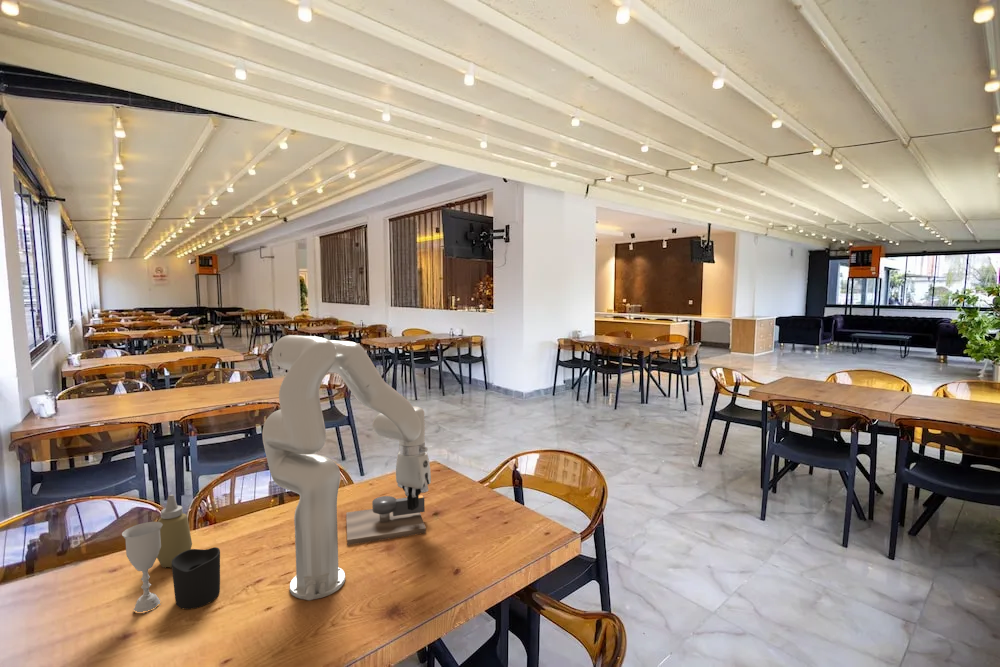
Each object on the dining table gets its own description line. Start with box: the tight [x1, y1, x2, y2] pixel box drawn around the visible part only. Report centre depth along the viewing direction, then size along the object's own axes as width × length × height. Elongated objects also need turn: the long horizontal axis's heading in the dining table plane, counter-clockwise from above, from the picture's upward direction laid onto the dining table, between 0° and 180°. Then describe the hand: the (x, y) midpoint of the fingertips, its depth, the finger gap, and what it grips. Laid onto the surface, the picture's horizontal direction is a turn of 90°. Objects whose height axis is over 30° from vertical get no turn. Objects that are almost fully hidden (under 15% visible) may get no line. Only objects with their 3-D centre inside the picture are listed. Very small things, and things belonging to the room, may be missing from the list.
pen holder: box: [171, 547, 221, 610], centre depth 111 cm, size 9×9×10 cm
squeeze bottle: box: [156, 494, 193, 569], centre depth 126 cm, size 8×8×18 cm
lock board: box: [346, 508, 427, 546], centre depth 147 cm, size 18×22×5 cm
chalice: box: [121, 521, 163, 612], centre depth 108 cm, size 7×7×18 cm
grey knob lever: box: [371, 494, 425, 516], centre depth 148 cm, size 7×16×5 cm, turn 108°
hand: (413, 508), depth 146 cm, fingers closed
